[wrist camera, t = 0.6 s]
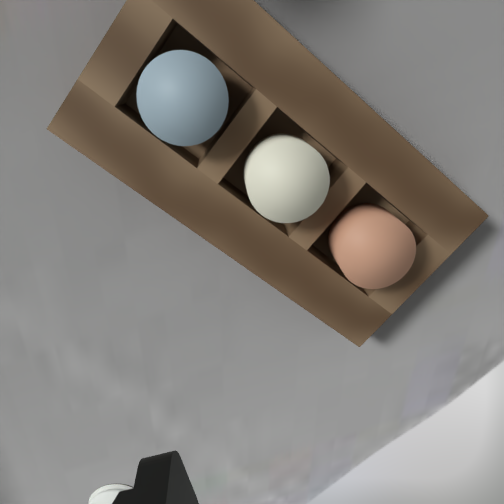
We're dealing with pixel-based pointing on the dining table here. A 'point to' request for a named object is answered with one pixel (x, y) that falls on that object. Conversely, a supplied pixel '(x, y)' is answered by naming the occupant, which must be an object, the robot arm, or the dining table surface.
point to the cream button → (285, 178)
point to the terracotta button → (371, 246)
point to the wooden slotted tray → (243, 140)
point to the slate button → (182, 98)
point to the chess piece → (107, 493)
